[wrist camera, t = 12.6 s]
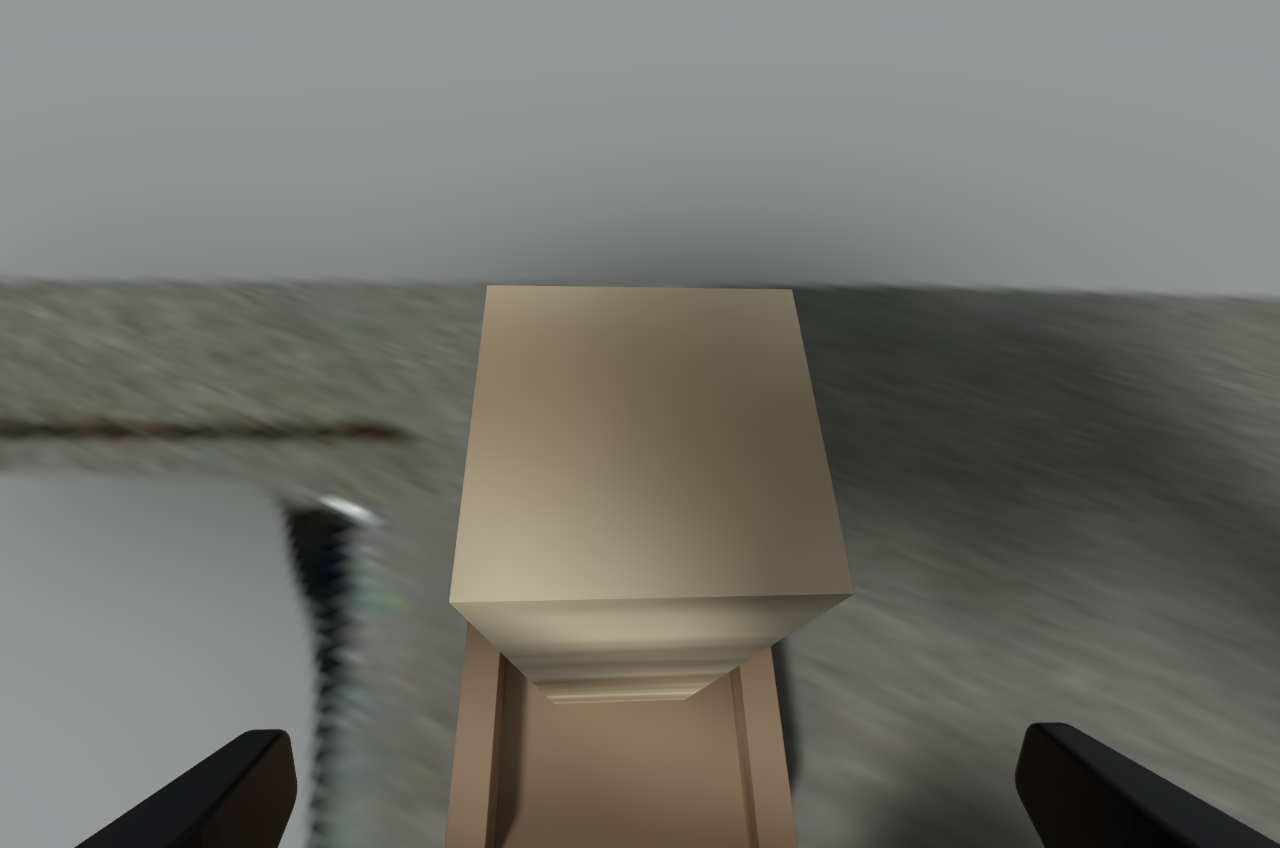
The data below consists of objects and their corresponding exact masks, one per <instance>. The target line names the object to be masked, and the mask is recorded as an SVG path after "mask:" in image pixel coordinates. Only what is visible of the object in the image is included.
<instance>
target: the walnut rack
mask: <svg viewBox="0 0 1280 848" xmlns="http://www.w3.org/2000/svg"><path fill="white" fill-rule="evenodd" d="M445 848H798V846H797V839H796V831H795V824H794V816H793V809H792V801H791V794H790V786H789V779H788V771H787V764H786V757H785V749H784V742H783V734H782V727H781V719H780V712H779V704H778V697H777V689H776V682H775V674H774V667H773V659H772V652H771V646H770V647H769V648H767V649H765V650H764V651H762V652H761V653H759V654H757V655H756V656H754V657H752V658H751V659H749V660H748V661H746V662H744V663H743V664H741V665H740V666H738V667H736V668H735V669H733V670H732V671H730V672H728V673H727V674H725V675H724V676H722V677H720V678H719V679H717V680H716V681H714V682H712V683H711V684H709V685H707V686H706V687H704V688H703V689H701V690H699V691H698V692H696V693H695V694H693V695H691V696H690V697H688V698H687V699H685V700H655V701H625V702H595V703H564V704H554V703H553V702H552V701H551V700H550V699H549V698H548V697H547V696H546V695H544V694H543V693H542V692H541V691H540V690H539V689H538V688H537V687H536V686H535V685H534V684H533V683H532V682H531V681H530V680H529V679H528V678H527V677H526V676H525V675H524V674H523V673H522V672H521V671H520V670H519V669H518V668H517V667H515V666H514V665H513V664H512V663H511V662H510V661H509V660H508V659H507V658H506V657H505V656H504V655H503V654H502V653H501V652H500V651H499V650H498V649H497V648H496V647H495V646H494V645H493V644H492V643H491V642H490V641H489V640H487V639H486V638H485V637H484V636H483V635H482V634H481V633H480V632H479V631H478V630H477V629H476V628H475V627H474V626H473V625H472V624H471V623H470V622H469V621H468V626H467V636H466V646H465V655H464V665H463V675H462V684H461V694H460V704H459V713H458V723H457V733H456V742H455V752H454V762H453V771H452V781H451V791H450V800H449V810H448V820H447V829H446V839H445Z"/></svg>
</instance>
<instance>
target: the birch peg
mask: <svg viewBox="0 0 1280 848" xmlns="http://www.w3.org/2000/svg"><path fill="white" fill-rule="evenodd" d="M854 594H855V591H854V586H853V581H852V577H851V572H850V567H849V562H848V557H847V552H846V548H845V543H844V538H843V533H842V528H841V524H840V519H839V514H838V509H837V504H836V499H835V495H834V490H833V485H832V480H831V475H830V470H829V466H828V461H827V456H826V451H825V446H824V442H823V437H822V432H821V427H820V422H819V417H818V413H817V408H816V403H815V398H814V393H813V388H812V384H811V379H810V374H809V369H808V364H807V360H806V355H805V350H804V345H803V340H802V335H801V331H800V326H799V321H798V316H797V311H796V306H795V302H794V297H793V292H792V289H728V288H648V287H567V286H487V293H486V301H485V309H484V318H483V326H482V334H481V343H480V351H479V359H478V368H477V376H476V384H475V392H474V401H473V409H472V417H471V426H470V434H469V442H468V450H467V459H466V467H465V475H464V484H463V492H462V500H461V509H460V517H459V525H458V533H457V542H456V550H455V558H454V567H453V575H452V583H451V592H450V600H449V603H450V604H451V605H452V606H453V607H454V608H455V609H456V610H457V611H458V612H460V613H461V614H462V615H463V616H464V617H465V618H466V619H467V620H468V621H469V622H470V623H471V624H472V625H473V626H474V627H475V628H476V629H477V630H478V631H479V632H480V633H481V634H482V635H483V636H484V637H485V638H486V639H487V640H489V641H490V642H491V643H492V644H493V645H494V646H495V647H496V648H497V649H498V650H499V651H500V652H501V653H502V654H503V655H504V656H505V657H506V658H507V659H508V660H509V661H510V662H511V663H512V664H513V665H514V666H515V667H517V668H518V669H519V670H520V671H521V672H522V673H523V674H524V675H525V676H526V677H527V678H528V679H529V680H530V681H531V682H532V683H533V684H534V685H535V686H536V687H537V688H538V689H539V690H540V691H541V692H542V693H543V694H544V695H546V696H547V697H548V698H549V699H550V700H551V701H552V702H553V703H554V704H564V703H595V702H625V701H655V700H685V699H687V698H688V697H690V696H691V695H693V694H695V693H696V692H698V691H699V690H701V689H703V688H704V687H706V686H707V685H709V684H711V683H712V682H714V681H716V680H717V679H719V678H720V677H722V676H724V675H725V674H727V673H728V672H730V671H732V670H733V669H735V668H736V667H738V666H740V665H741V664H743V663H744V662H746V661H748V660H749V659H751V658H752V657H754V656H756V655H757V654H759V653H761V652H762V651H764V650H765V649H767V648H769V647H770V646H772V645H773V644H775V643H777V642H778V641H780V640H781V639H783V638H785V637H786V636H788V635H789V634H791V633H793V632H794V631H796V630H797V629H799V628H801V627H802V626H804V625H806V624H807V623H809V622H810V621H812V620H814V619H815V618H817V617H818V616H820V615H822V614H823V613H825V612H826V611H828V610H830V609H831V608H833V607H834V606H836V605H838V604H839V603H841V602H842V601H844V600H846V599H847V598H849V597H851V596H852V595H854Z"/></svg>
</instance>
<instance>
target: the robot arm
mask: <svg viewBox="0 0 1280 848" xmlns="http://www.w3.org/2000/svg"><path fill="white" fill-rule="evenodd" d="M1015 784H1016V789H1017V792H1018V795H1019V797H1020V799H1021V801H1022V803H1023V805H1024V807H1025V809H1026V811H1027V813H1028V815H1029V817H1030V819H1031V821H1032V823H1033V825H1034V827H1035V829H1036V831H1037V833H1038V835H1039V837H1040V839H1041V841H1042V843H1043V845H1044V847H1045V848H1280V844H1278V843H1276V842H1275V841H1273V840H1271V839H1269V838H1268V837H1266V836H1264V835H1262V834H1261V833H1259V832H1257V831H1255V830H1254V829H1252V828H1250V827H1248V826H1247V825H1245V824H1243V823H1241V822H1239V821H1238V820H1236V819H1234V818H1232V817H1231V816H1229V815H1227V814H1225V813H1224V812H1222V811H1220V810H1218V809H1217V808H1215V807H1213V806H1211V805H1210V804H1208V803H1206V802H1204V801H1203V800H1201V799H1199V798H1197V797H1196V796H1194V795H1192V794H1190V793H1189V792H1187V791H1185V790H1183V789H1182V788H1180V787H1178V786H1176V785H1175V784H1173V783H1171V782H1169V781H1167V780H1166V779H1164V778H1162V777H1160V776H1159V775H1157V774H1155V773H1153V772H1152V771H1150V770H1148V769H1146V768H1145V767H1143V766H1141V765H1139V764H1138V763H1136V762H1134V761H1132V760H1131V759H1129V758H1127V757H1125V756H1124V755H1122V754H1120V753H1118V752H1117V751H1115V750H1113V749H1111V748H1110V747H1108V746H1106V745H1104V744H1103V743H1101V742H1099V741H1097V740H1096V739H1094V738H1092V737H1090V736H1088V735H1087V734H1085V733H1083V732H1081V731H1080V730H1078V729H1076V728H1074V727H1073V726H1071V725H1068V724H1065V723H1060V722H1055V723H1034V724H1031V725H1030V726H1029V727H1028V728H1027V730H1026V733H1025V736H1024V740H1023V744H1022V748H1021V751H1020V755H1019V759H1018V763H1017V766H1016V770H1015ZM296 795H297V778H296V772H295V766H294V759H293V753H292V747H291V741H290V737H289V735H288V733H287V732H286V731H284V730H280V729H274V730H273V729H271V730H269V729H268V730H250V731H247V732H245V733H243V734H241V735H240V736H238V737H237V738H235V739H234V740H232V741H231V742H229V743H228V744H227V745H225V746H224V747H222V748H221V749H219V750H218V751H216V752H215V753H213V754H212V755H210V756H209V757H207V758H206V759H204V760H203V761H201V762H200V763H198V764H197V765H196V766H194V767H193V768H191V769H190V770H188V771H187V772H185V773H184V774H182V775H181V776H179V777H178V778H176V779H175V780H173V781H172V782H170V783H169V784H168V785H166V786H165V787H163V788H162V789H160V790H159V791H157V792H156V793H154V794H153V795H151V796H150V797H148V798H147V799H145V800H144V801H142V802H141V803H140V804H138V805H137V806H135V807H134V808H132V809H131V810H129V811H128V812H126V813H125V814H123V815H122V816H120V817H119V818H117V819H116V820H115V821H113V822H112V823H110V824H109V825H107V826H106V827H104V828H103V829H101V830H100V831H98V832H97V833H95V834H94V835H93V836H91V837H89V838H88V839H86V840H85V841H84V842H82V843H81V844H79V845H78V846H76V847H75V848H278V846H279V843H280V840H281V838H282V835H283V833H284V830H285V828H286V825H287V823H288V820H289V818H290V815H291V813H292V810H293V807H294V804H295V800H296Z"/></svg>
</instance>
